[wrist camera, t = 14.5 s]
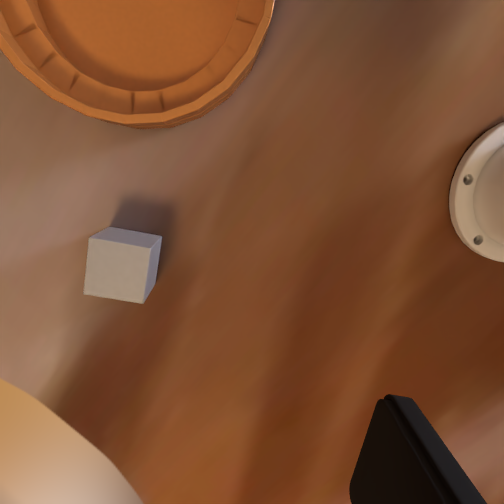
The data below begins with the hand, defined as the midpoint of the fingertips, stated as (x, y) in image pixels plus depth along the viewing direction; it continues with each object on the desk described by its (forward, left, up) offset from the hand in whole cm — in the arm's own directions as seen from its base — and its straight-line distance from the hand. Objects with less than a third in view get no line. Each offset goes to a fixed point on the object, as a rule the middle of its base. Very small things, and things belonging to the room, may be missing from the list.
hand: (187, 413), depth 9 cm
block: (+7, +3, -23) cm, 24 cm away
